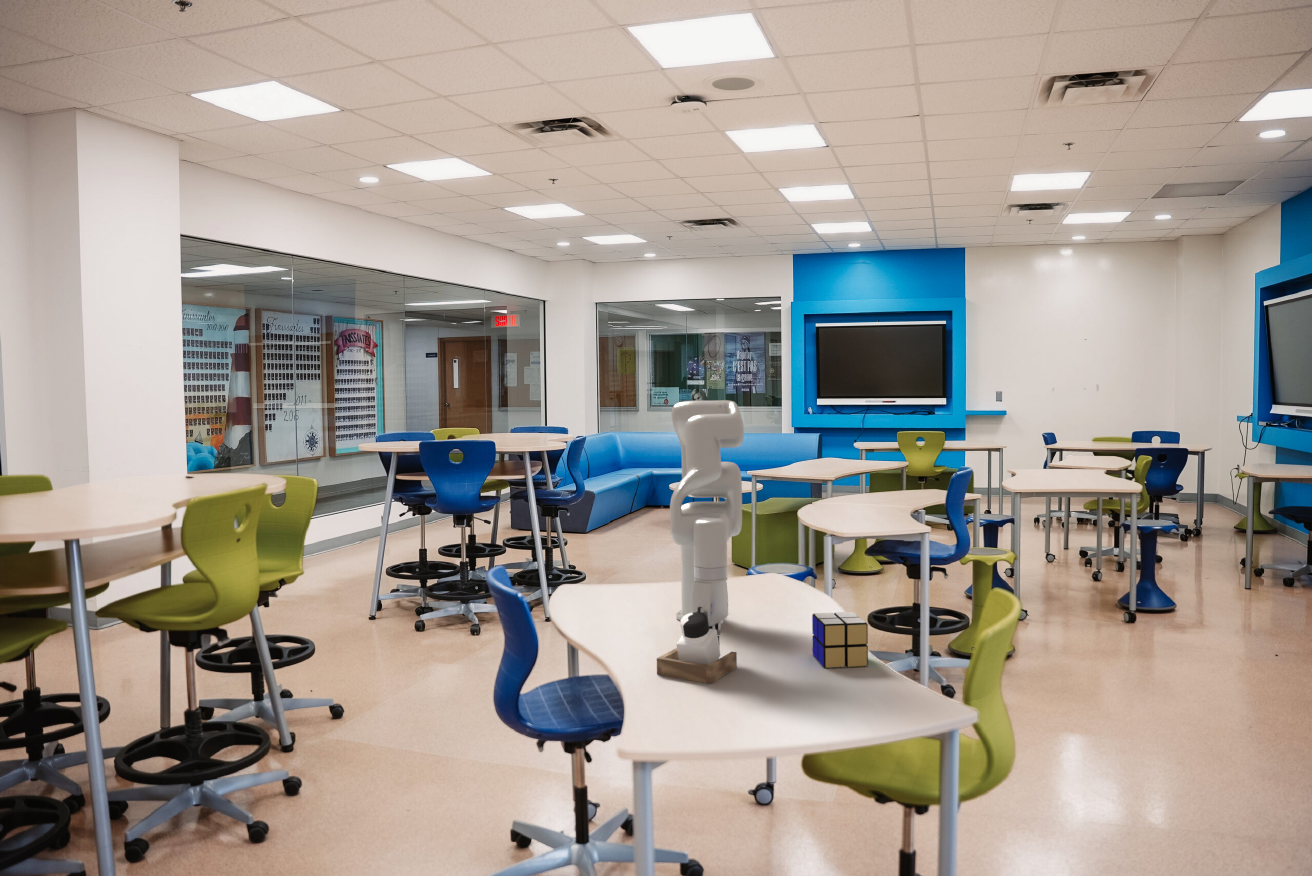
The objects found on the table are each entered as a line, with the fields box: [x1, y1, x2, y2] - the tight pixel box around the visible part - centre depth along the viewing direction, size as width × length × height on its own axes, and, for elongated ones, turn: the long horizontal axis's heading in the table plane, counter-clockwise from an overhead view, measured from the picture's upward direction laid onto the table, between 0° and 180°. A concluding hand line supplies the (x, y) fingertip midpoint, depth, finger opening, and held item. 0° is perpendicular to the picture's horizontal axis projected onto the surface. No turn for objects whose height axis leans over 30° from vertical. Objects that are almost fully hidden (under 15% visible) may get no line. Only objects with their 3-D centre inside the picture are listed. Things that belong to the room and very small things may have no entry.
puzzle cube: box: [811, 611, 869, 669], centre depth 197 cm, size 10×10×10 cm
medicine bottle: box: [676, 612, 721, 665], centre depth 192 cm, size 7×7×12 cm
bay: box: [656, 647, 738, 685], centre depth 192 cm, size 12×13×4 cm
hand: (711, 652), depth 198 cm, fingers closed
